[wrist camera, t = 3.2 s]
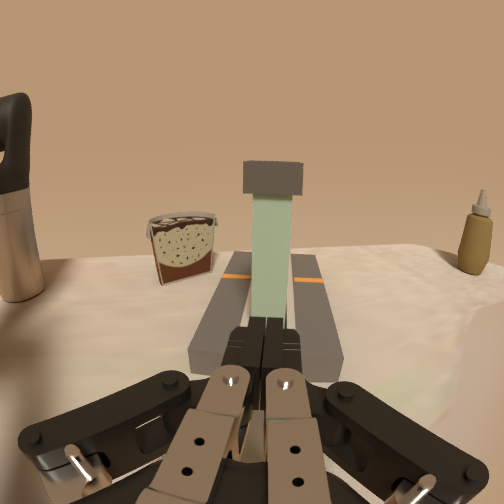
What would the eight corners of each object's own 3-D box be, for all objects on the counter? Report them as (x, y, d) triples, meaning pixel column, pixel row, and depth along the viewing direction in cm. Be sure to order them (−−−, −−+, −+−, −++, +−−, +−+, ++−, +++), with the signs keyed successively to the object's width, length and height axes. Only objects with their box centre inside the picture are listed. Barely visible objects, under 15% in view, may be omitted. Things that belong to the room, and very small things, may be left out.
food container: (200, 260, 55) (199, 208, 52) (218, 270, 51) (217, 213, 48) (140, 275, 48) (134, 218, 45) (153, 288, 43) (147, 224, 40)
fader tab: (242, 342, 26) (243, 161, 21) (248, 315, 31) (250, 160, 26) (290, 345, 26) (303, 163, 21) (289, 317, 30) (299, 162, 25)
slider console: (191, 372, 26) (186, 338, 25) (234, 267, 52) (234, 244, 51) (337, 382, 25) (346, 347, 23) (313, 271, 51) (315, 248, 50)
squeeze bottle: (487, 280, 45) (503, 195, 40) (455, 273, 50) (470, 187, 44) (482, 268, 52) (495, 192, 46) (453, 261, 56) (465, 185, 50)
